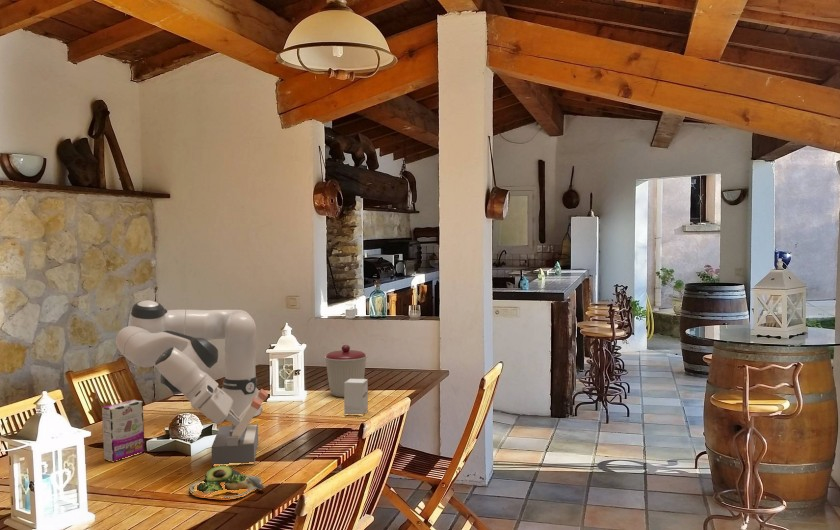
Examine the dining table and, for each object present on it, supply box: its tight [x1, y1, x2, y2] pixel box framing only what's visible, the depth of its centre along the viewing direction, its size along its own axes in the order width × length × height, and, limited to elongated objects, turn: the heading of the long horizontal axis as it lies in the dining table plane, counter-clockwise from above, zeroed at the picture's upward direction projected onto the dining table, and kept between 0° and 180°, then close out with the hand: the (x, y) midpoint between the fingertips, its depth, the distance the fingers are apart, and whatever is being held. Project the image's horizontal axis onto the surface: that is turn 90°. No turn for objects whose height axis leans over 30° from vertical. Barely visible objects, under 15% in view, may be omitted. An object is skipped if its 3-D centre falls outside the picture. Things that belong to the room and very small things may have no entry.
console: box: [211, 423, 259, 466], centre depth 213 cm, size 12×23×8 cm, turn 10°
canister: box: [323, 344, 368, 398], centre depth 290 cm, size 18×18×21 cm
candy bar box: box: [101, 399, 146, 461], centre depth 211 cm, size 11×5×16 cm, turn 148°
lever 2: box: [232, 397, 263, 440], centre depth 206 cm, size 3×5×14 cm
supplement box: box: [343, 378, 369, 415], centre depth 259 cm, size 7×7×13 cm
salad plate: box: [188, 465, 266, 498], centre depth 184 cm, size 19×18×5 cm
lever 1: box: [238, 388, 269, 420], centre depth 220 cm, size 3×5×14 cm
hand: (238, 423), depth 205 cm, fingers closed, pressing on lever 2
